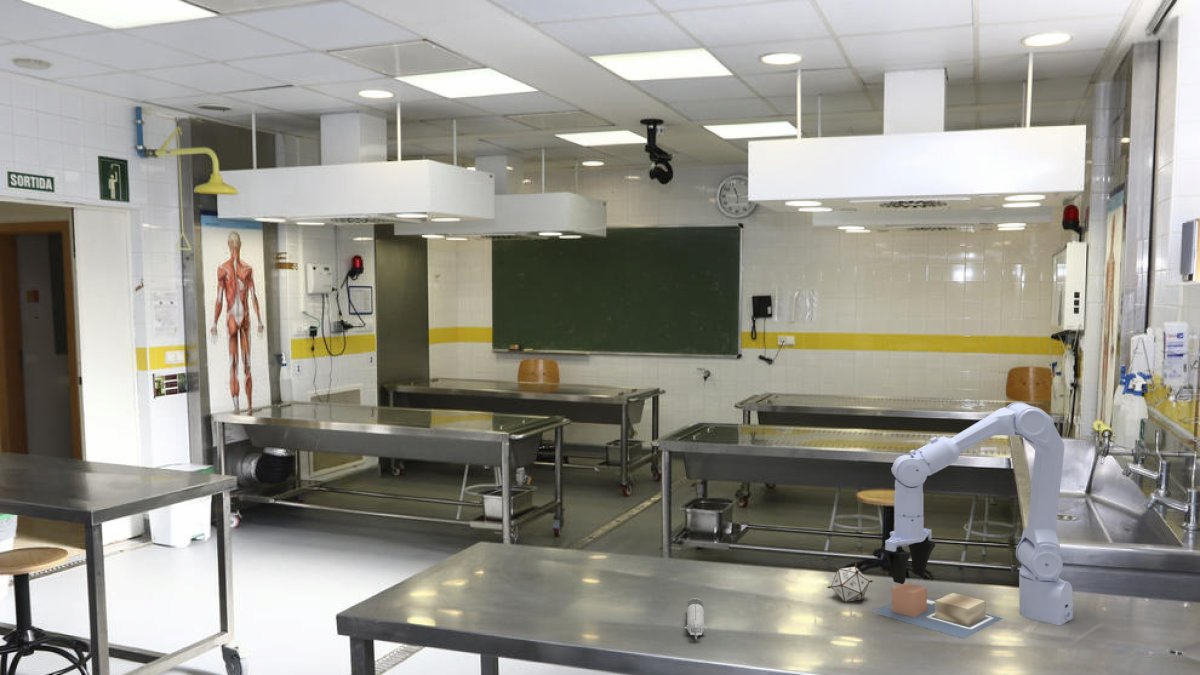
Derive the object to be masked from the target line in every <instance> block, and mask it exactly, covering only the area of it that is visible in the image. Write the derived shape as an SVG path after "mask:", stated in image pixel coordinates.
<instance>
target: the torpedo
mask: <svg viewBox="0 0 1200 675" xmlns="http://www.w3.org/2000/svg"><path fill="white" fill-rule="evenodd" d="M686 608H687V610H686V615H687V616H686V621H687V623H686V626H685V627H684V628H683V629H686V630H687V632H688V633H689V635H690V636H694V639H695V640H697V639H698V636H702V634H703V633H705V632H704V631H705V630H708V629H709V627H706V625H705V610H704V603H703V601H702V600H701V599H700V598H695V597H694V598H691V599H689V601H688V602H687V606H686Z"/></svg>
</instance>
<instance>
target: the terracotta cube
mask: <svg viewBox="0 0 1200 675" xmlns="http://www.w3.org/2000/svg"><path fill="white" fill-rule="evenodd" d="M927 589H928V588H927V587H925V586H921V585H917V584H913V583H909V582H906V581H905V582H904V584H900V583H898V584H897V585H895V586H892V587H891V604H892V611H893V612H897V613H900V614H904V615H908V616H911V617H916V616H918V615H920V614H922V613H925V612H927V598H928V590H927Z"/></svg>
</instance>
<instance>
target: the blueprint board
mask: <svg viewBox="0 0 1200 675" xmlns="http://www.w3.org/2000/svg"><path fill="white" fill-rule="evenodd" d="M935 600H936V599H931V598H928V597H927V612H925V613H922V614H920V615H918V616H916V617H911V616H908V615H904V614H900V613H897V612H893V611H892V603H891V604H888V605H886V606H884V607H881V608H879V609H875V610H874V611H872V612H871V613H874V614H877V615H880V616H884V617H886V618H890V619H894V620H898V621H901V622H904V623H908V624H911V625H914V626H918V627H922V628H925V629H929V630H932V631H935V632H939V633H943V634H946V635H949V636H954V637H955V638H959V639H966V638H968V637H970V636H971V635H974V634H976V633H977V632H980V631H981V630H983V629H985V628H987V627H989V626H991V625H994V624H995V623H997V622H999V621H1000V620H1003V619H1004V618H1003V617H1001V616H997V615H993V614H989V613H986V612H985V618H984V619H982V620H980V621H978V622H976V623H974V624H972V625H970V626H964V625H961V624H957V623H953V622H950V621H946V620H943V619H939V618H935Z"/></svg>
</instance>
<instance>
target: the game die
mask: <svg viewBox="0 0 1200 675" xmlns="http://www.w3.org/2000/svg"><path fill="white" fill-rule="evenodd" d="M857 565H858V564H857V563H855V564H854V565H853V566H851V567H849V566H848V567H841V568H839V566H838V565H835V569H837V571H836V573H835V576H834V578H833V581H832V583H831V585H828V586H826V588H827V589H832V590H833V591H834V592H835V594H836V595H838V596H839V598H840V599H841V600H842V601H843V603H847V602H854V601H855V602H856V601H861V600H862V601H863V600H864V596H865V594H866V592H867V590H868V587H869V585H870V583H873V582H874V580H873V579H870V580H869V579H868V578H867V577H866V576H865V575H864V574H863V573H862V572H861V571H860V569H858V566H857Z"/></svg>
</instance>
